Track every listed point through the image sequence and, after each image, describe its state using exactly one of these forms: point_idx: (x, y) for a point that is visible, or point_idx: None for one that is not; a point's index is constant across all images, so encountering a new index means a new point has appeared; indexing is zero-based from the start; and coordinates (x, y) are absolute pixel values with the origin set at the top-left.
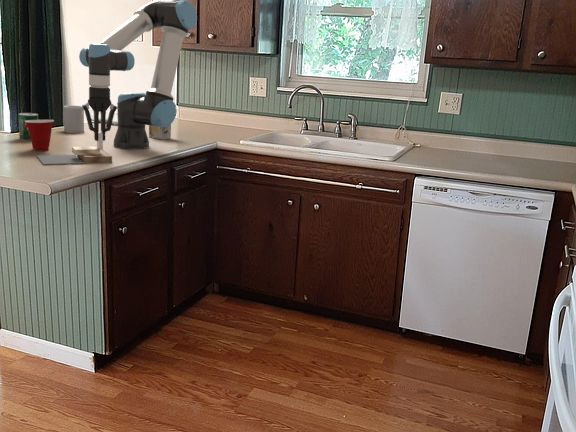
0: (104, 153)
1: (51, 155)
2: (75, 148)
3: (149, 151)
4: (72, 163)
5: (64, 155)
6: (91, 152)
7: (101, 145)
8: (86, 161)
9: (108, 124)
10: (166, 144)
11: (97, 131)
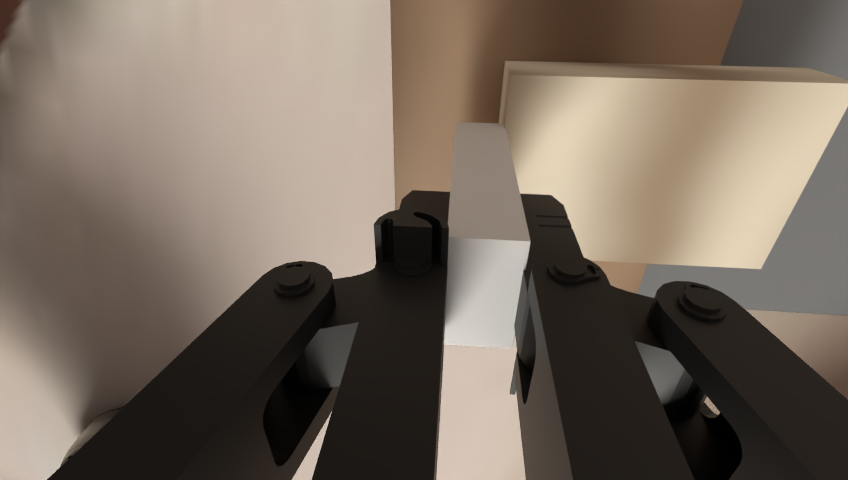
0: (433, 119)
1: (821, 304)
2: (789, 173)
3: (65, 346)
4: None
5: (720, 289)
6: (615, 67)
7: (471, 142)
8: None
9: (253, 379)
10: (3, 473)
11: (562, 258)
